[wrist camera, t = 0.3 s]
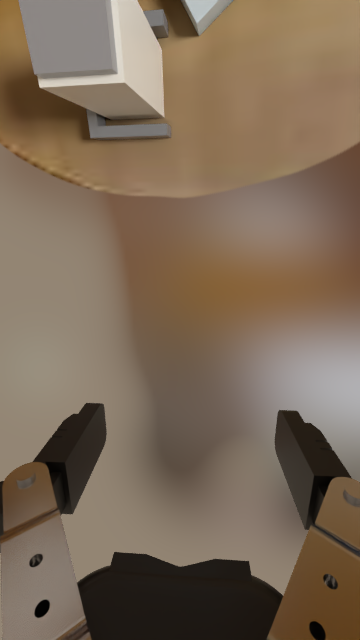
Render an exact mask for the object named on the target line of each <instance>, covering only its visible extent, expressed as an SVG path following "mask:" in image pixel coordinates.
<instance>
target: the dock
mask: <svg viewBox="0 0 360 640" xmlns="http://www.w3.org/2000/svg"><path fill="white" fill-rule="evenodd" d="M143 13H144V15H145V17H146V19H147V21H148V23H149V25H150V27H151V29H152V31H153V33H154V35H155V37H156V38H163V37H168V21H167V19H166V16H165V13H164V11H163V9H161V10H150V11H143ZM86 111H87V118H88V124H89V131H90V138H93V139H97V140H116V139H146V138H171V127H170V126H169V125H168V124H144V125H119V126H106V122H105V117H104V116H102V115H100V114H98V113H95V112H93V111H91V110H89V109H86Z"/></svg>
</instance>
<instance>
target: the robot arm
mask: <svg viewBox="0 0 360 640" xmlns="http://www.w3.org/2000/svg"><path fill="white" fill-rule="evenodd" d="M105 441H106V422H105V411H104V405H103V404H100V403H86V404H85V405H84V407H83V408H82V409H81V411H80V412H79V414H73V415H71V416H70V417H68V418H67V419H66V420H64V421H63V422H62V424H61V425H60V426H59V428H58V429H57V431H56V432H55V433H54V434H53V435H52V438H50V439H49V441H48V442H47V443H46V445H45V446H44V447H43V449H42V450H41V451H40V453H39V454H38V455H37V457H36V458H35V459H34V461H33V462H31V463H27V464H24V465H22V466H20V467H18V468H16V469H15V470H13V471H12V472H11V473H10V474H9V475H8V476H7V477H6V478H5V480H4V481H1V482H0V553H1V599H2V640H360V482H358V481H357V480H354V479H352V478H351V476H350V475H349V473H348V472H347V470H346V469H345V467H344V466H343V464H342V463H341V461H340V459H339V458H338V456H337V455H336V454H335V452H334V451H333V450H332V447H331V446H330V444H329V443H327V440H326V438H325V437H324V435H323V434H322V432H321V431H320V430H319V429H317V428H316V427H315V426H313V425H312V424H311V423H304V421H303V419H302V418H301V416H300V414H299V413H298V412H297V411H287V410H279V412H278V416H277V425H276V434H275V450H276V454H277V457H278V459H279V462H280V464H281V467H282V470H283V472H284V475H285V478H286V480H287V483H288V486H289V488H290V491H291V493H292V496H293V499H294V502H295V504H296V507H297V510H298V512H299V515H300V517H301V520H302V523H303V525H304V528H305V529H307V530H309V531H308V534H307V536H306V539H305V542H304V544H303V547H302V549H301V552H300V554H299V557H298V560H297V562H296V565H295V567H294V570H293V573H292V575H291V578H290V580H289V583H288V586H287V588H286V591H285V593H284V596H283V595H282V594H281V593H279V592H278V591H277V590H276V589H275V588H273V587H272V586H270V585H269V584H268V583H266V582H265V581H262V580H261V579H259V578H257V577H254V576H252V575H251V571H250V565H249V561H237V560H222V559H213V560H209V561H205V562H200V563H197V564H192V565H188V566H184V567H178V566H175V565H173V564H170V563H168V562H165V561H162V560H160V559H157V558H155V557H152V556H149V555H147V554H133V553H119V552H114V555H113V559H112V562H111V565H110V566H106V567H103V568H101V569H98V570H96V571H94V572H92V573H90V574H89V575H87V576H86V577H84V578H83V579H81V580H80V581H79V582H76V577H75V573H74V569H73V565H72V561H71V557H70V553H69V548H68V544H67V540H66V536H65V532H64V528H63V524H62V520H61V514H73V512H74V510H75V508H76V506H77V504H78V501H79V499H80V497H81V495H82V493H83V491H84V488H85V486H86V484H87V482H88V480H89V478H90V476H91V473H92V471H93V469H94V467H95V465H96V463H97V460H98V458H99V456H100V454H101V452H102V449H103V447H104V445H105Z"/></svg>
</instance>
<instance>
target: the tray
mask: <svg viewBox="0 0 360 640" xmlns="http://www.w3.org/2000/svg"><path fill="white" fill-rule="evenodd" d="M232 1H233V0H181V2H182V4H183V6H184V8H185V10H186V12H187V14H188V16H189V18H190V20H191V22H192V24H193V25H194V27H195V29H196V31H197V33H198V35H199V36H200V35H201V34H202V33H203V32H204V30H205V29H206V28H207V27H208V26H209V25H210V24H211V23H212V22H213V21H214V20H215V19H216V18H217V17H218V16H219V15H220V14H221V13H222V12H223V11H224V10H225V9H226V8H227V6H228V5H229V4H230V3H231V2H232Z"/></svg>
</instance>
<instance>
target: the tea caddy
mask: <svg viewBox="0 0 360 640" xmlns="http://www.w3.org/2000/svg"><path fill="white" fill-rule="evenodd" d="M19 5H20V10H21V14H22V19H23V24H24V28H25V33H26V38H27V42H28V47H29V52H30V56H31V61H32V66H33V70H34V74H35V75H37V78H38V82H39V87H40V88H41V89H44V90H46V91H48V92H50V93H53V94H55V95H57V96H59V97H62V98H64V99H66V100H68V101H71V102H73V103H75V104H77V105H80V106H82V107H84V108H86V109H89V110H91V111H93V112H95V113H98V114H100V115H102V116H104V117H107V118H109V119H111V120H122V119H145V118H164V96H163V69H162V49H161V47H160V45H159V43H158V41H157V39H156V37H155V35H154V33H153V31H152V29H151V27H150V25H149V23H148V21H147V19H146V17H145V15H144V13H143V11H142V9H141V7H140V5H139V3H138V1H137V0H19Z"/></svg>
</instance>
